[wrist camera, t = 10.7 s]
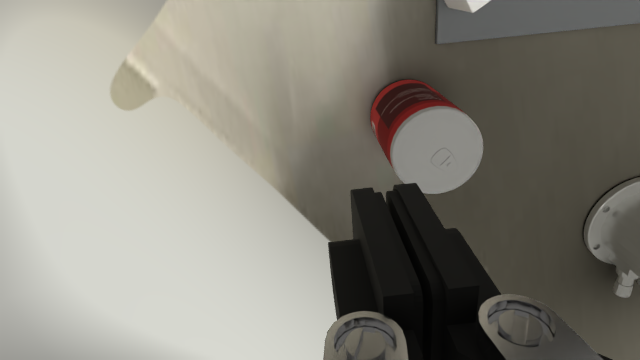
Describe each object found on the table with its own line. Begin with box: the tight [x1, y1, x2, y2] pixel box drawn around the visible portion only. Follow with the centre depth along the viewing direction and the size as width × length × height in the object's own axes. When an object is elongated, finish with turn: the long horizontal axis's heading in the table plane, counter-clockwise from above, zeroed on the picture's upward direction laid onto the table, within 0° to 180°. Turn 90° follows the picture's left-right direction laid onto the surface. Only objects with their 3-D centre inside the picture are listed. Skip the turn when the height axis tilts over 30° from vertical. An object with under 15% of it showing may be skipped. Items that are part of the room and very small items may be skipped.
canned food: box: [370, 80, 483, 194], centre depth 39 cm, size 8×8×11 cm
